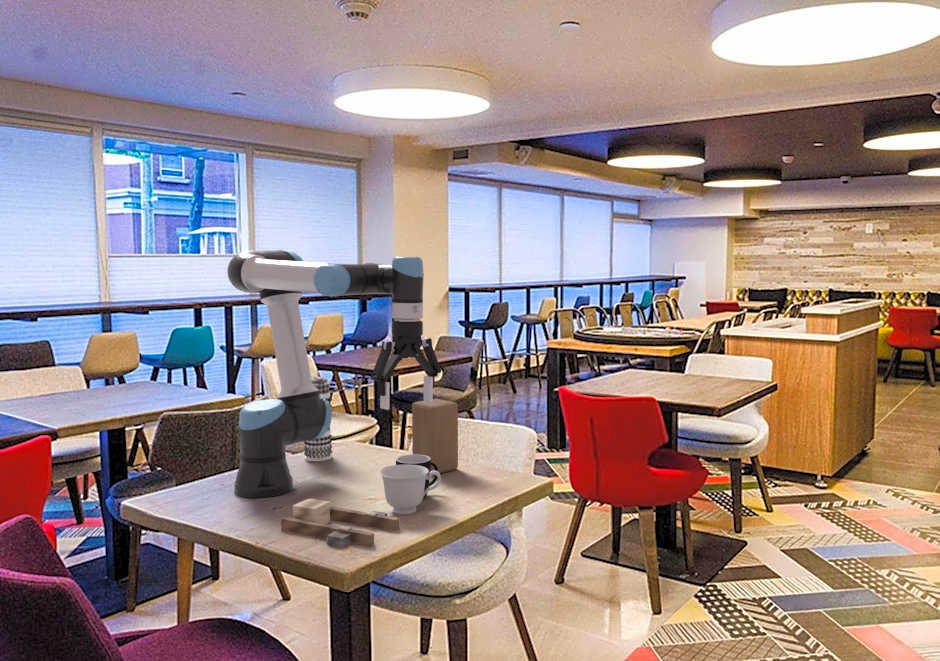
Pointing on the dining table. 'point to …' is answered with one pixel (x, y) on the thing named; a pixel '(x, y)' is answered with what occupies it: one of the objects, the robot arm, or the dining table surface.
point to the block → (436, 433)
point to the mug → (421, 461)
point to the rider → (312, 510)
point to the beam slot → (343, 533)
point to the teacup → (406, 486)
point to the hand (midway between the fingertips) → (406, 405)
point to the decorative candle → (321, 446)
